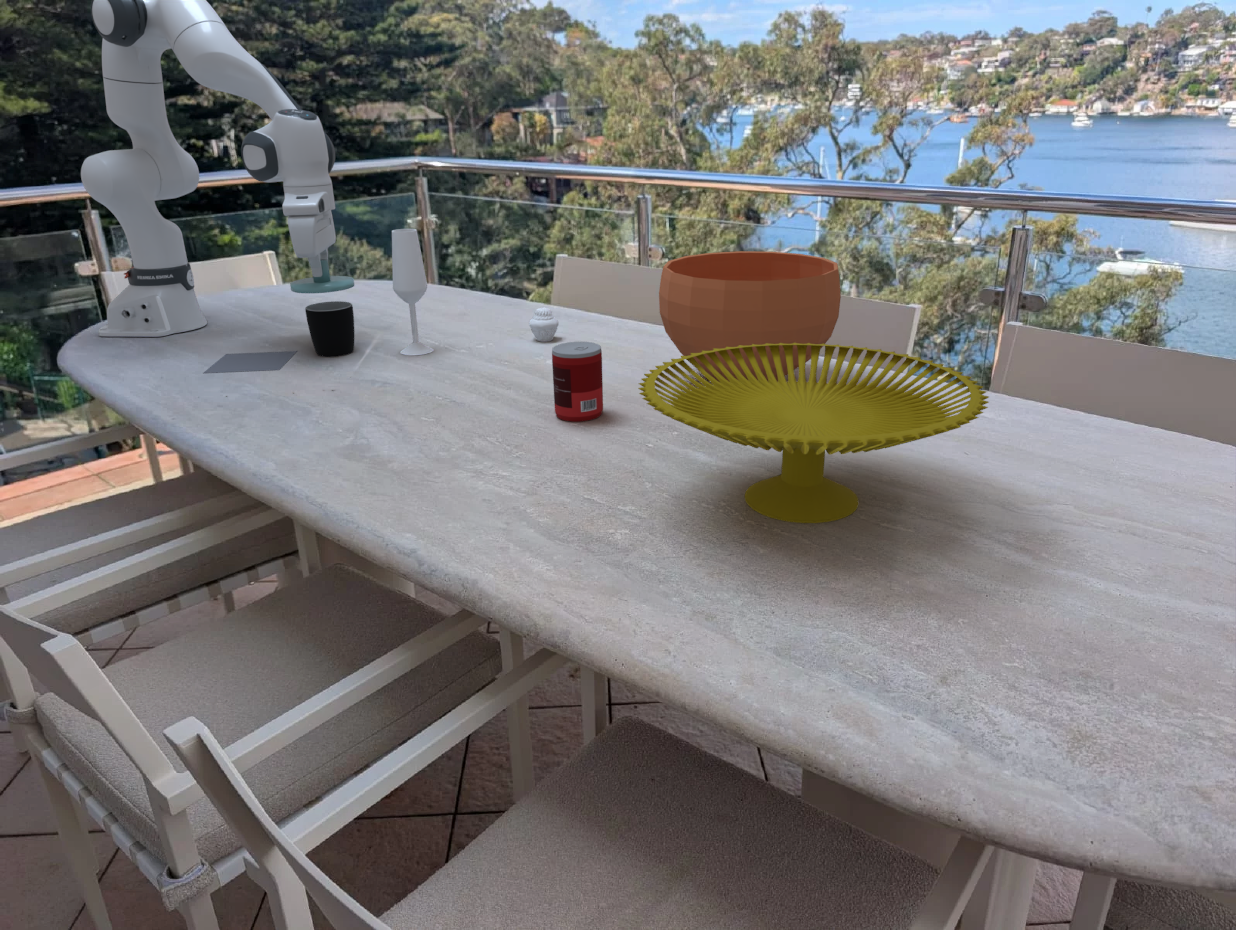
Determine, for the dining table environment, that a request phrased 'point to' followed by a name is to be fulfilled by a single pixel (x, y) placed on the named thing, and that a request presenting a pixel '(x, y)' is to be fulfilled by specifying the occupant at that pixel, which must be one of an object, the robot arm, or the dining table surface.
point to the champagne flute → (409, 280)
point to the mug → (331, 328)
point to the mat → (251, 362)
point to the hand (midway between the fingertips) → (320, 274)
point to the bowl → (749, 304)
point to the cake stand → (810, 417)
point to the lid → (322, 282)
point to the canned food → (577, 381)
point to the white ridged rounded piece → (543, 324)
